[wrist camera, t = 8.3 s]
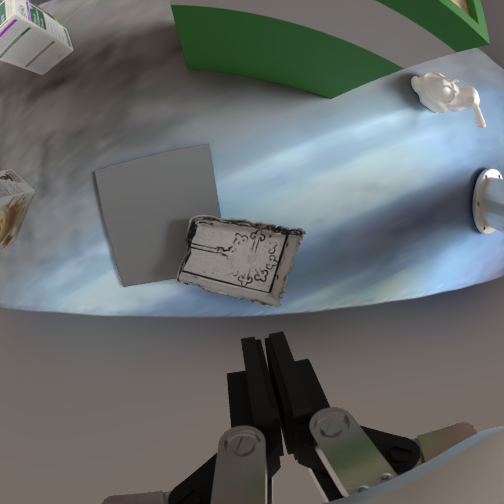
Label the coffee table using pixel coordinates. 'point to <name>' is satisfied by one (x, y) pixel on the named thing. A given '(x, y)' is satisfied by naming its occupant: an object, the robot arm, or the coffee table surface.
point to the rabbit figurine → (446, 95)
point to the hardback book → (324, 38)
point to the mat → (155, 210)
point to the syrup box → (31, 37)
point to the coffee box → (12, 205)
